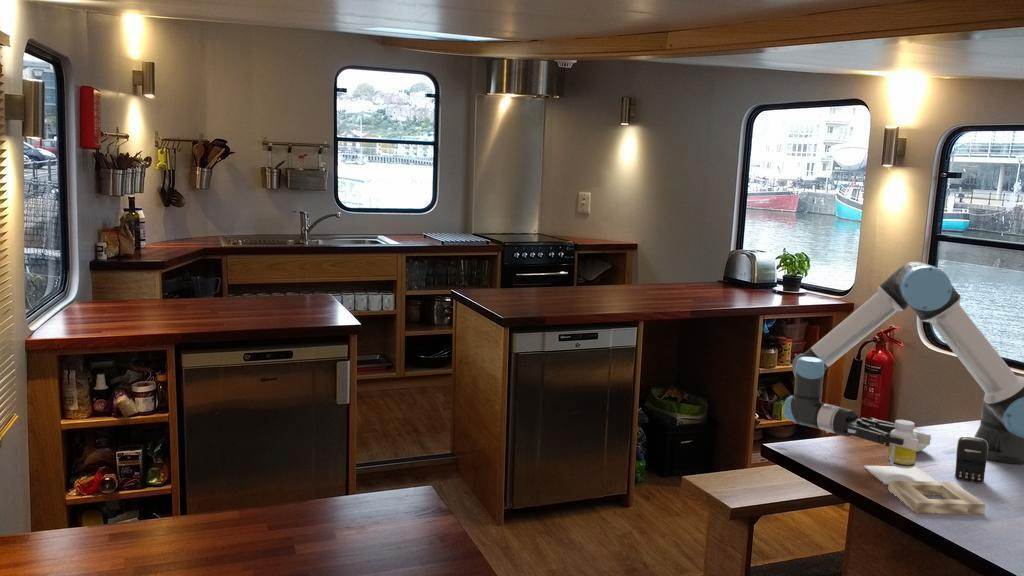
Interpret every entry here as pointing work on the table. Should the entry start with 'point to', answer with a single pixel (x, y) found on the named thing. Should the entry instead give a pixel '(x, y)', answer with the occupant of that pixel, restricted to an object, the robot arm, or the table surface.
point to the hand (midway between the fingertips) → (923, 442)
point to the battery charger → (971, 459)
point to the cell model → (920, 445)
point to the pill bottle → (901, 454)
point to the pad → (898, 474)
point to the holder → (953, 504)
